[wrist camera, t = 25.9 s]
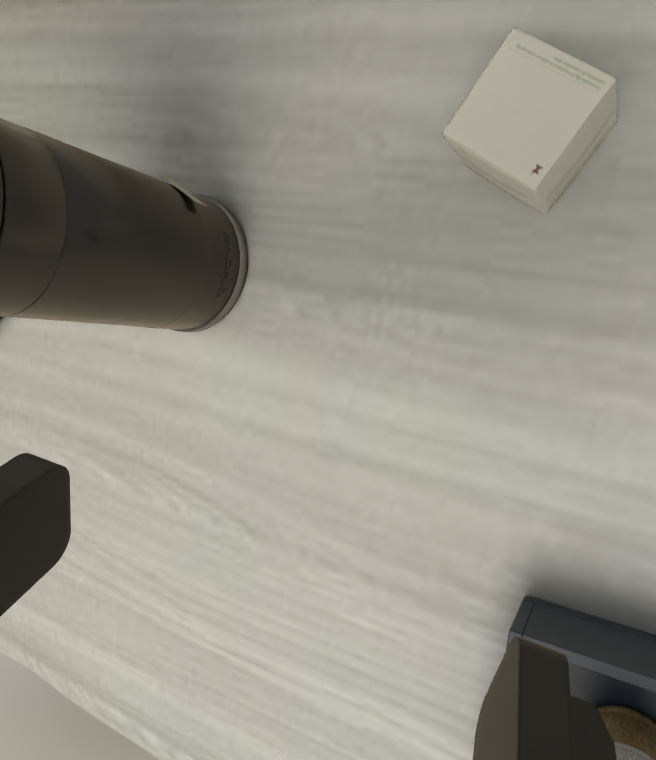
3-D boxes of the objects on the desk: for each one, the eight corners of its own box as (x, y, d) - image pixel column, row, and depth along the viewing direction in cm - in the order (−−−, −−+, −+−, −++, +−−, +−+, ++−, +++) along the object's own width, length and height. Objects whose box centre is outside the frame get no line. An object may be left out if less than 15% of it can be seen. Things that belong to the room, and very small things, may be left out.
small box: (621, 119, 30) (621, 76, 25) (546, 219, 31) (533, 195, 27) (527, 68, 31) (511, 20, 27) (461, 164, 33) (436, 134, 29)
